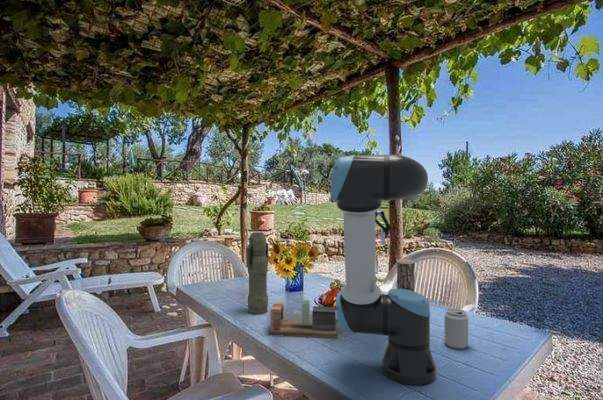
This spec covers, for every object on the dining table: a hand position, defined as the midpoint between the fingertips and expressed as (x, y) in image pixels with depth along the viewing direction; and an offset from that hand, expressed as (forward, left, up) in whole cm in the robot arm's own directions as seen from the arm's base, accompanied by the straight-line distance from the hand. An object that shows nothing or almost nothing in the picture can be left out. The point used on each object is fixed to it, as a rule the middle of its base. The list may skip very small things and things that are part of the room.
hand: (368, 247), depth 151 cm
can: (-27, -28, -30) cm, 49 cm away
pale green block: (-19, +22, -26) cm, 39 cm away
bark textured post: (-6, -15, -30) cm, 34 cm away
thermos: (+1, +48, -30) cm, 57 cm away
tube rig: (-19, +26, -29) cm, 44 cm away
